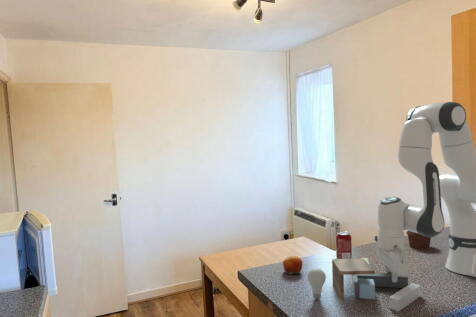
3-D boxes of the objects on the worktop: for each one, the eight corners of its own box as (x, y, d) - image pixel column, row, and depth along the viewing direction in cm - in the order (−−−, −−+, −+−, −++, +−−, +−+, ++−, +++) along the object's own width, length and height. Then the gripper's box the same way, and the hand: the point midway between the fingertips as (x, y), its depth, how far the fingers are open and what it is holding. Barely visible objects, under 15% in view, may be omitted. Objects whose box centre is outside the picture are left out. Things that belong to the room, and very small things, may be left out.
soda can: (352, 261, 159) (352, 235, 159) (336, 261, 161) (336, 234, 160) (350, 256, 166) (350, 231, 165) (335, 256, 167) (335, 230, 167)
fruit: (289, 275, 142) (285, 255, 146) (283, 279, 149) (279, 259, 153) (308, 273, 144) (303, 253, 148) (301, 276, 151) (297, 257, 155)
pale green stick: (370, 272, 147) (370, 269, 147) (364, 272, 148) (364, 268, 148) (367, 261, 161) (367, 257, 161) (361, 260, 161) (361, 257, 161)
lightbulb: (312, 294, 128) (311, 264, 128) (328, 298, 125) (328, 267, 124) (305, 301, 123) (304, 269, 123) (322, 305, 120) (321, 273, 119)
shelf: (363, 285, 134) (363, 258, 134) (374, 299, 123) (374, 270, 122) (332, 285, 135) (332, 259, 134) (341, 300, 123) (340, 271, 122)
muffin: (436, 250, 171) (436, 229, 170) (412, 250, 172) (412, 229, 171) (425, 242, 183) (425, 223, 182) (403, 242, 184) (403, 223, 183)
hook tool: (406, 284, 132) (406, 273, 132) (414, 300, 120) (414, 288, 120) (352, 282, 137) (352, 272, 137) (355, 297, 125) (354, 286, 124)
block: (373, 292, 128) (373, 279, 128) (375, 299, 123) (374, 285, 123) (358, 291, 129) (358, 278, 129) (359, 298, 124) (359, 284, 124)
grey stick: (411, 294, 127) (411, 282, 126) (420, 296, 124) (420, 285, 124) (389, 309, 116) (389, 297, 116) (398, 312, 114) (398, 300, 114)
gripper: (412, 250, 121) (412, 290, 122) (388, 234, 141) (389, 268, 142) (393, 251, 121) (394, 291, 122) (372, 234, 141) (373, 268, 142)
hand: (391, 278), depth 132 cm, fingers closed on hook tool, 3 cm apart
